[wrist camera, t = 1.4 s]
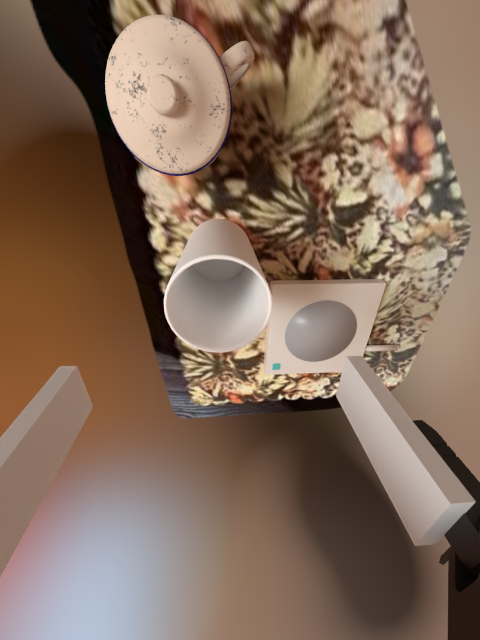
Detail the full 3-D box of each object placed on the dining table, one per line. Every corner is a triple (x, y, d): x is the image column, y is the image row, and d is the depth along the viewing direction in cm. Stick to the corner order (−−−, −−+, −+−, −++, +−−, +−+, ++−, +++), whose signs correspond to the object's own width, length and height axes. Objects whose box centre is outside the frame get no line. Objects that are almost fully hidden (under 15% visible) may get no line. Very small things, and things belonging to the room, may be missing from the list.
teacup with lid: (177, 192, 29) (155, 202, 19) (118, 105, 25) (50, 59, 15) (268, 123, 27) (298, 94, 16) (219, 13, 22) (218, -116, 12)
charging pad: (270, 280, 35) (272, 285, 34) (423, 278, 37) (431, 282, 35) (263, 368, 43) (265, 375, 42) (389, 363, 45) (395, 370, 43)
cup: (257, 226, 32) (286, 267, 18) (243, 286, 36) (258, 358, 22) (191, 211, 30) (167, 244, 16) (184, 276, 34) (160, 346, 20)
